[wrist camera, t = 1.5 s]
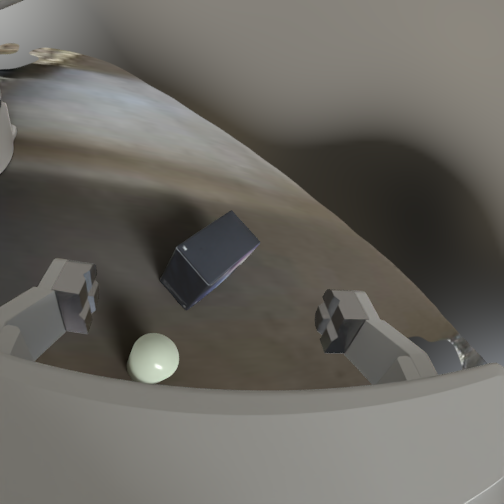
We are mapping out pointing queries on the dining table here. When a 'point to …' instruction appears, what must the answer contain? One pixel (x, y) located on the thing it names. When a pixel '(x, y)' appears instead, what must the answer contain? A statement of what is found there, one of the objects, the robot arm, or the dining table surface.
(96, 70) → the dining table surface
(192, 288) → the small box
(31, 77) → the dining table surface
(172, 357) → the pale green tall cylinder
